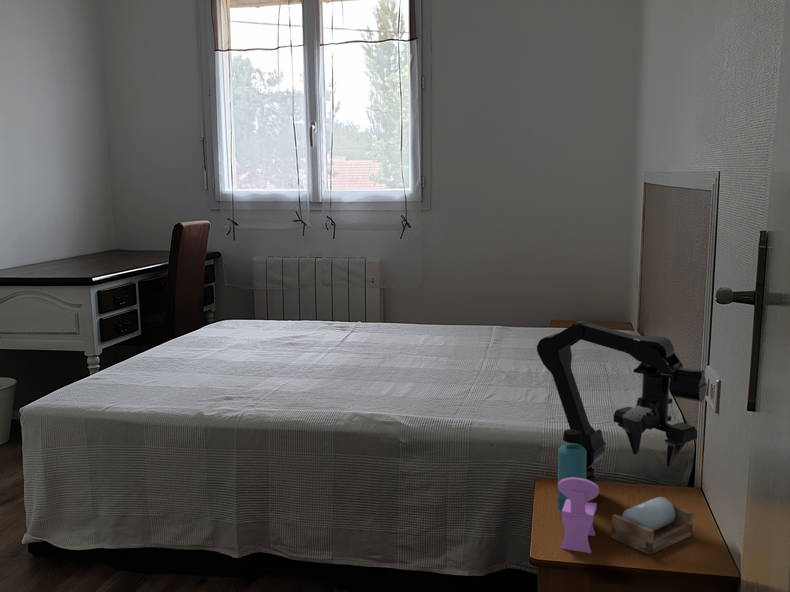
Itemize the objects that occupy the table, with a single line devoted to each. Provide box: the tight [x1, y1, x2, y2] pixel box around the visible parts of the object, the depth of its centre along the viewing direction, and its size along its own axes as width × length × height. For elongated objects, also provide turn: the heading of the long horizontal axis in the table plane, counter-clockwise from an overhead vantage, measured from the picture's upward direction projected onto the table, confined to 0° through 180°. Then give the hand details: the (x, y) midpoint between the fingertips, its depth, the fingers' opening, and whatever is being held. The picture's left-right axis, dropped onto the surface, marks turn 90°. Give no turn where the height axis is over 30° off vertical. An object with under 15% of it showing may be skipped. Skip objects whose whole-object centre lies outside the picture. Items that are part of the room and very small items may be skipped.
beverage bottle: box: [557, 428, 587, 514], centre depth 169 cm, size 6×7×20 cm
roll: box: [621, 496, 675, 531], centre depth 161 cm, size 10×6×6 cm, turn 126°
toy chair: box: [557, 477, 600, 554], centre depth 158 cm, size 8×9×15 cm
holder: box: [611, 504, 694, 556], centre depth 160 cm, size 10×14×5 cm, turn 126°
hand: (652, 460), depth 172 cm, fingers open, 9 cm apart
